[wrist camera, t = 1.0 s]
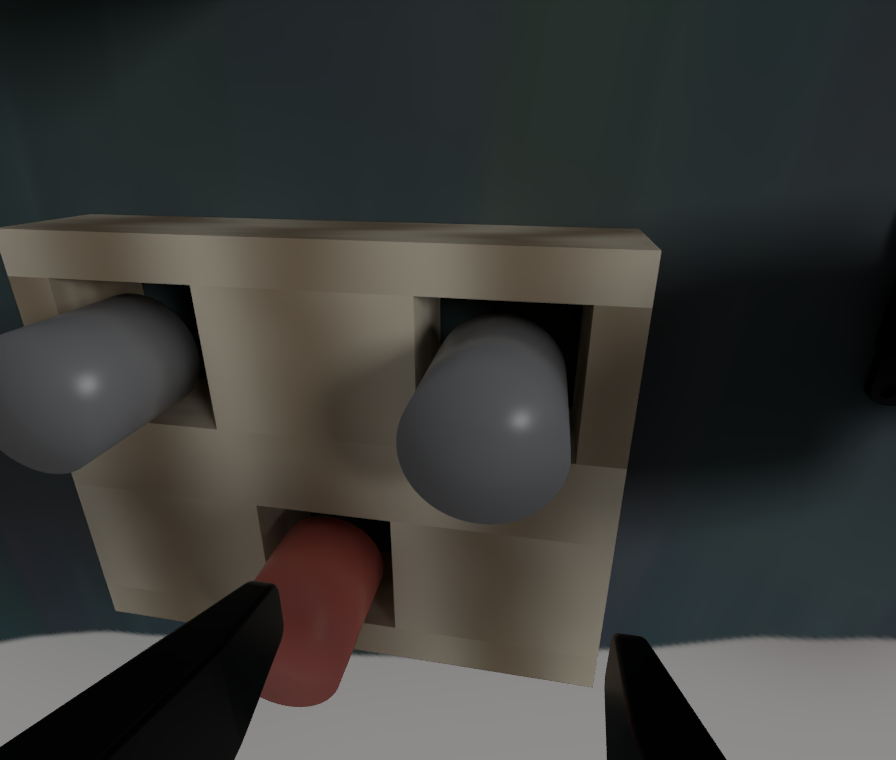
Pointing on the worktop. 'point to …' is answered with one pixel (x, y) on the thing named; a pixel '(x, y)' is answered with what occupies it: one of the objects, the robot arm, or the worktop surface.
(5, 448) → the grey plug
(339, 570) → the red plug
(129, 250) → the plug board
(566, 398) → the grey plug
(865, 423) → the worktop surface
